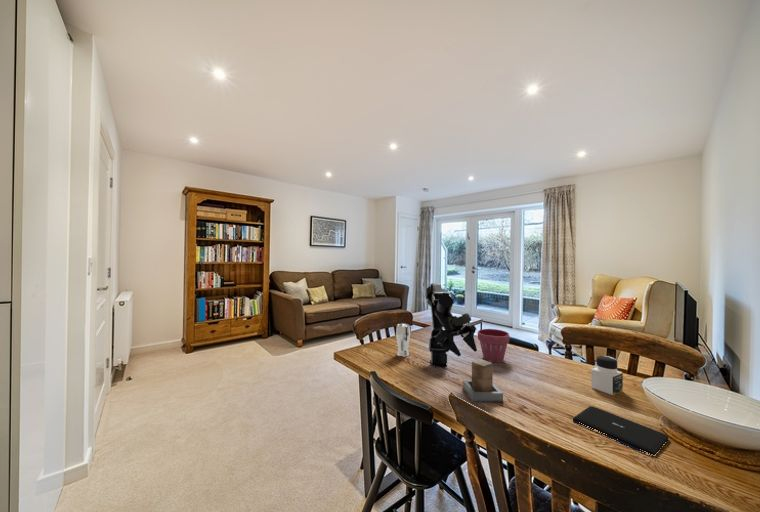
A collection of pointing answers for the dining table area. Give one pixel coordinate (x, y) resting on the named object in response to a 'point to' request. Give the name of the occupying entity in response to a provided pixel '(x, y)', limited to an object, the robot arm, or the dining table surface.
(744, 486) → the dining table surface
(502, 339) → the plant pot
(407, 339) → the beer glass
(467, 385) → the holder box
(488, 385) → the walnut block
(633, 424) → the laptop
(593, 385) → the medicine bottle
